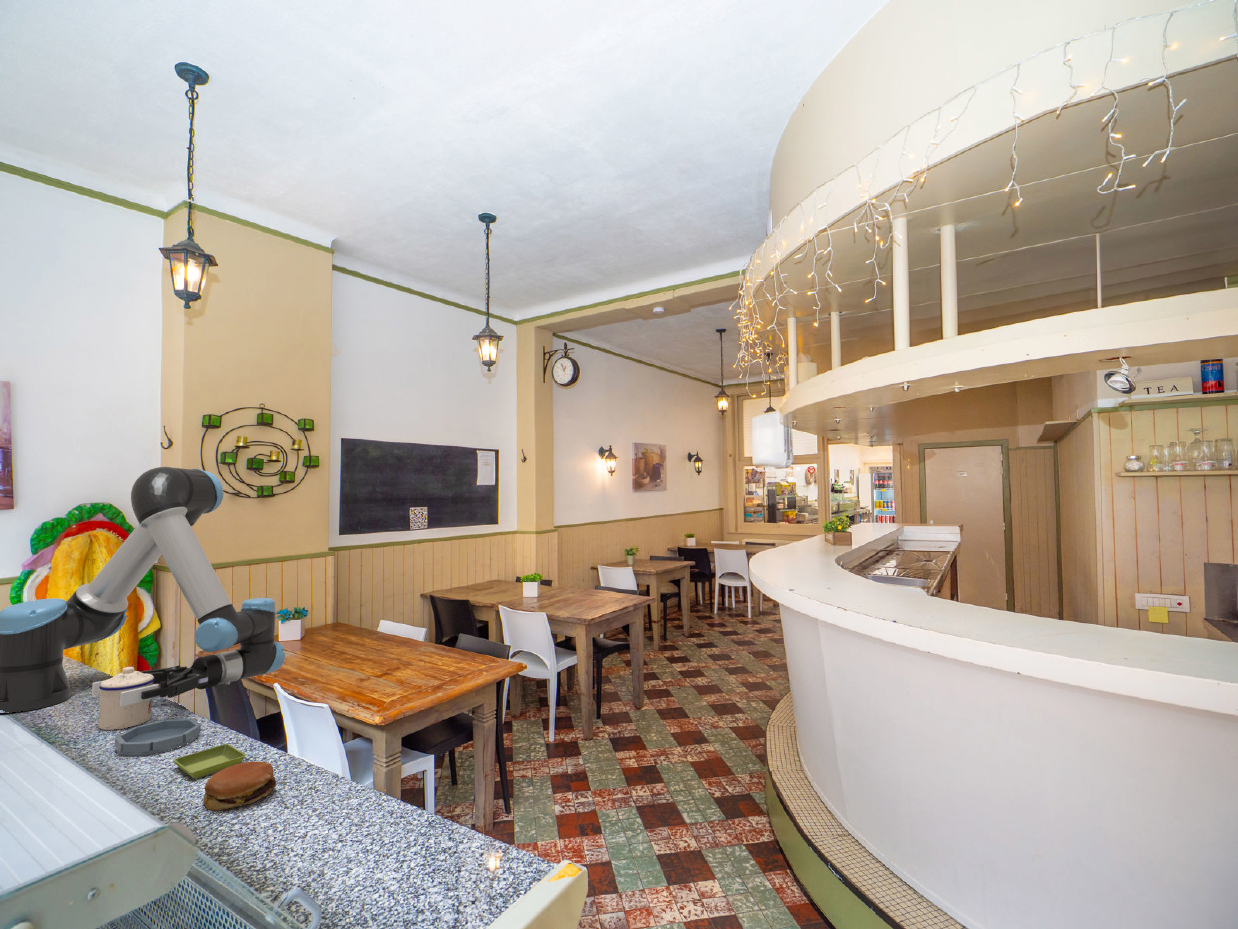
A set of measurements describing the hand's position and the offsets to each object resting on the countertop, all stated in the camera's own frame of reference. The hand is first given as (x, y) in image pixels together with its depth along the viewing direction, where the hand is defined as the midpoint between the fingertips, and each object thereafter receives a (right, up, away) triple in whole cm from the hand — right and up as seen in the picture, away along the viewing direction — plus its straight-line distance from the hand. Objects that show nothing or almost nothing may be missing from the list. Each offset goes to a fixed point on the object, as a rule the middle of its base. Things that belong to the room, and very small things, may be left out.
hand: (106, 694), depth 124 cm
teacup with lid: (+1, -7, +2) cm, 7 cm away
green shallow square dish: (+35, -6, -19) cm, 41 cm away
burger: (+48, -5, -30) cm, 57 cm away
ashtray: (+18, -6, -9) cm, 21 cm away
